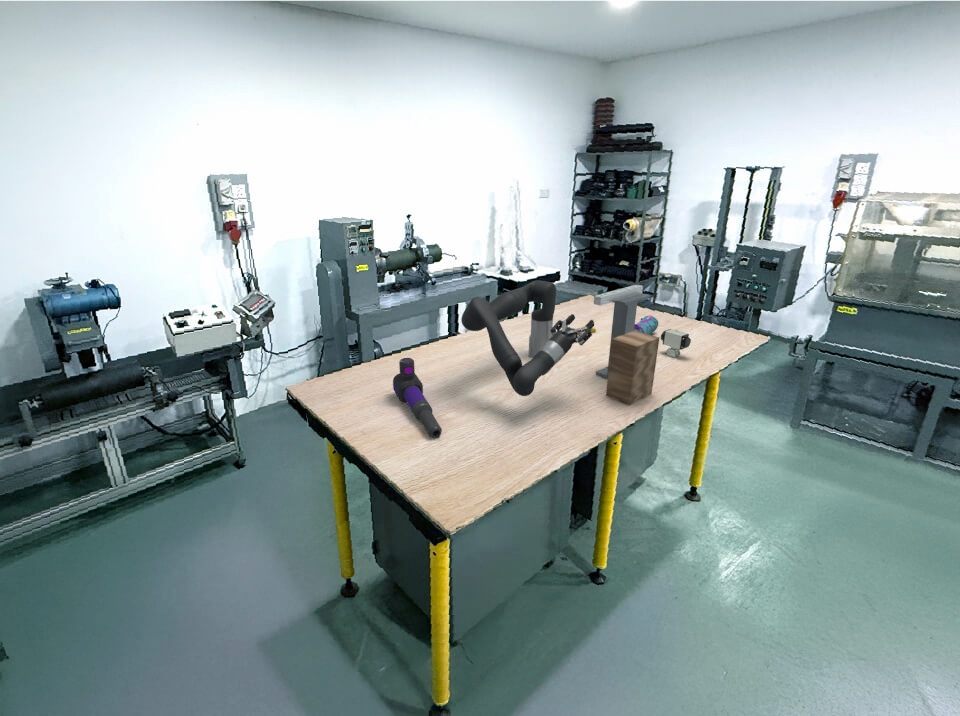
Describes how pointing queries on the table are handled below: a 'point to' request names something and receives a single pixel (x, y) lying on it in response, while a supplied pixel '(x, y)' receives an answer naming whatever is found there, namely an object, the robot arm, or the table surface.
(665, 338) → the mini surveillance camera
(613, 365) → the block
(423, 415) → the device
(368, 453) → the table surface
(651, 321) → the pencil case
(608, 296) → the aluminium bar
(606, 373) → the steel stand
